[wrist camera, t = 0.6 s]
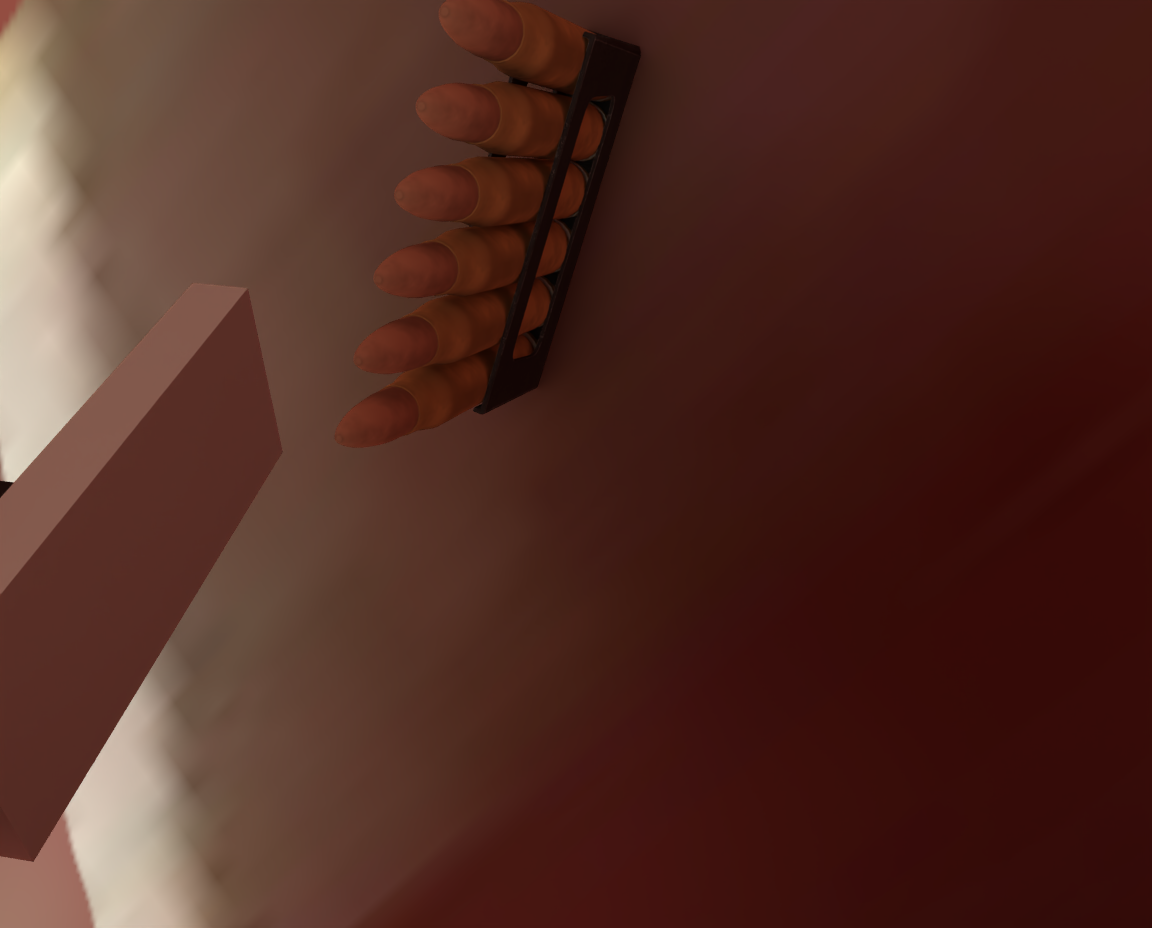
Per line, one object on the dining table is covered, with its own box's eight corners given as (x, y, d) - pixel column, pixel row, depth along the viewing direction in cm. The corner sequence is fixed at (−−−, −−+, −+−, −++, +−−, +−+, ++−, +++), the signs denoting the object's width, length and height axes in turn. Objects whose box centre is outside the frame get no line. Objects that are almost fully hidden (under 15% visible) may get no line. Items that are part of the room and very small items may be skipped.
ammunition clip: (583, 28, 30) (412, -58, 19) (643, 48, 30) (503, -28, 19) (484, 369, 34) (291, 462, 23) (536, 389, 34) (365, 494, 22)
